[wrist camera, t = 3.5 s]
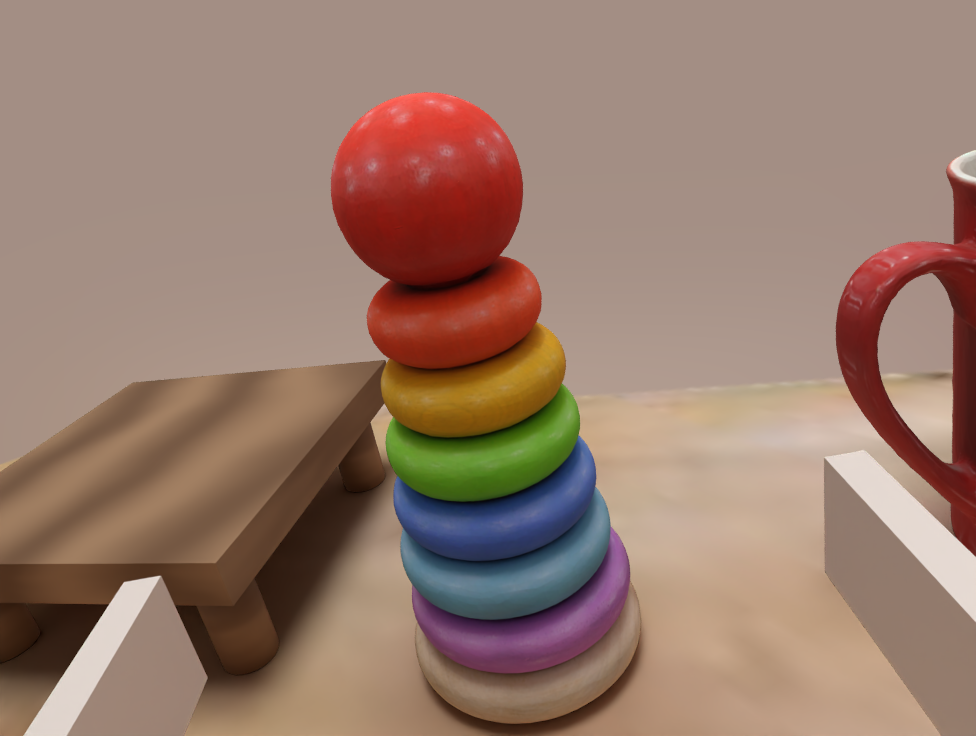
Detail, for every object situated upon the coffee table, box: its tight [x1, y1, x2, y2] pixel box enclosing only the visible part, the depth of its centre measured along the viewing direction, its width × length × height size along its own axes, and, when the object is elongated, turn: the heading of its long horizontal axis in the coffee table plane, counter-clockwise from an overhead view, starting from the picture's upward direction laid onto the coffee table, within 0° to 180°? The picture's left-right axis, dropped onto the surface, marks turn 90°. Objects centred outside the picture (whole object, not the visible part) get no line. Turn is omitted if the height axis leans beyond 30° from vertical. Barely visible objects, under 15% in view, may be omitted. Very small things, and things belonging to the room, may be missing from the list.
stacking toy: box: [331, 92, 641, 724], centre depth 22 cm, size 8×8×19 cm
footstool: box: [0, 360, 386, 675], centre depth 34 cm, size 16×16×6 cm
